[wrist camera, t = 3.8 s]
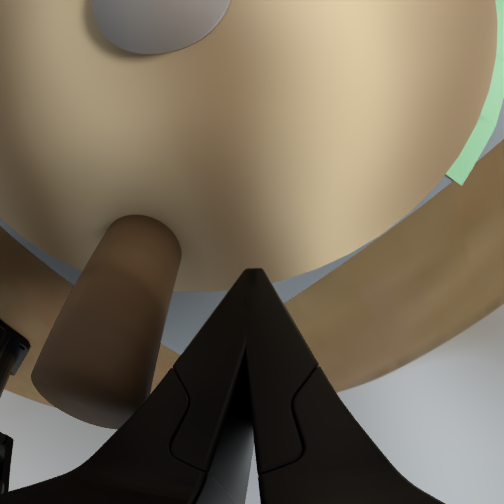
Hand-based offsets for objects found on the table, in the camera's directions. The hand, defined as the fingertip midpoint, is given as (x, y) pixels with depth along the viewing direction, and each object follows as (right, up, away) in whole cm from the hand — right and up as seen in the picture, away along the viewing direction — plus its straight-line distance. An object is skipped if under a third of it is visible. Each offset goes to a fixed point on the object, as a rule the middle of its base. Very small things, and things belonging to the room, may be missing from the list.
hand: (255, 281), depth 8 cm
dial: (-1, +8, -2) cm, 8 cm away
